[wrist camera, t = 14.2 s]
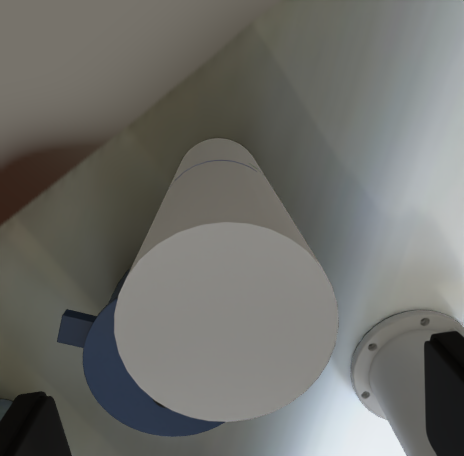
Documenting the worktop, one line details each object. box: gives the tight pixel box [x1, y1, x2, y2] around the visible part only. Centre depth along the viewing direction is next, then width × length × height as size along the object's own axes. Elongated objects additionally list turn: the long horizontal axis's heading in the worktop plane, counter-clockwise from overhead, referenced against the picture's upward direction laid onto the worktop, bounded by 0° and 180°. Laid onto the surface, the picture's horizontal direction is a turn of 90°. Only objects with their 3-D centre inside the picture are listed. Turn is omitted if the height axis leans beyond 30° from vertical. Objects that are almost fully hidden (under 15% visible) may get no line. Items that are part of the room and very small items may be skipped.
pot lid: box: [83, 296, 225, 437], centre depth 31 cm, size 13×13×4 cm
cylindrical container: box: [114, 138, 339, 422], centre depth 26 cm, size 7×7×25 cm
